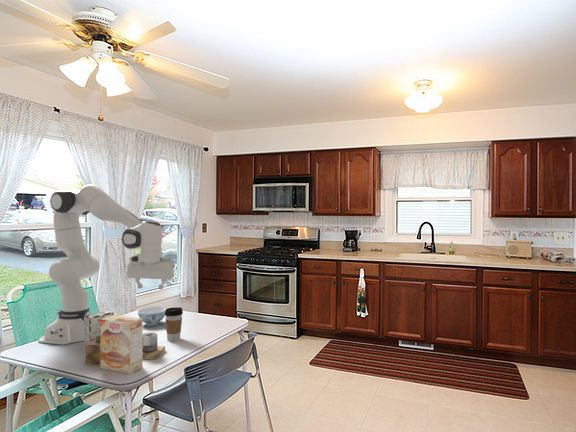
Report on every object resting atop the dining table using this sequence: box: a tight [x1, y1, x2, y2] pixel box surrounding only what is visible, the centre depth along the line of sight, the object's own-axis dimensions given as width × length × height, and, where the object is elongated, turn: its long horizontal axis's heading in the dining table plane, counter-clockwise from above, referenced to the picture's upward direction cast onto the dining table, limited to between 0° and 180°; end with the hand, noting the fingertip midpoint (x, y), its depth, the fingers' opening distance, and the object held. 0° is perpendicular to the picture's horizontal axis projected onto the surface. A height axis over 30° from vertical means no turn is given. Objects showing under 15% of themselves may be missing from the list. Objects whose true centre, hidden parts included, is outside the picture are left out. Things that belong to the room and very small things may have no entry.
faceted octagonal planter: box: [142, 332, 158, 346], centre depth 164 cm, size 6×6×4 cm
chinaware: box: [137, 306, 167, 327], centre depth 209 cm, size 15×15×8 cm
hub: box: [142, 332, 166, 360], centre depth 164 cm, size 10×10×9 cm
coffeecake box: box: [99, 314, 143, 375], centre depth 150 cm, size 15×7×20 cm, turn 69°
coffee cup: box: [165, 306, 184, 343], centre depth 184 cm, size 8×8×15 cm
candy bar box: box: [83, 310, 114, 348], centre depth 168 cm, size 11×5×16 cm, turn 148°
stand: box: [84, 335, 101, 366], centre depth 156 cm, size 7×7×10 cm
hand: (150, 288), depth 169 cm, fingers open, 8 cm apart
